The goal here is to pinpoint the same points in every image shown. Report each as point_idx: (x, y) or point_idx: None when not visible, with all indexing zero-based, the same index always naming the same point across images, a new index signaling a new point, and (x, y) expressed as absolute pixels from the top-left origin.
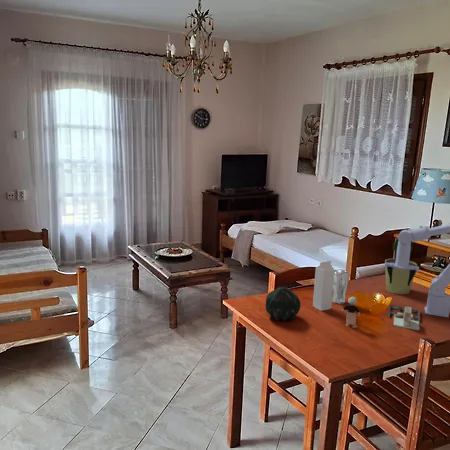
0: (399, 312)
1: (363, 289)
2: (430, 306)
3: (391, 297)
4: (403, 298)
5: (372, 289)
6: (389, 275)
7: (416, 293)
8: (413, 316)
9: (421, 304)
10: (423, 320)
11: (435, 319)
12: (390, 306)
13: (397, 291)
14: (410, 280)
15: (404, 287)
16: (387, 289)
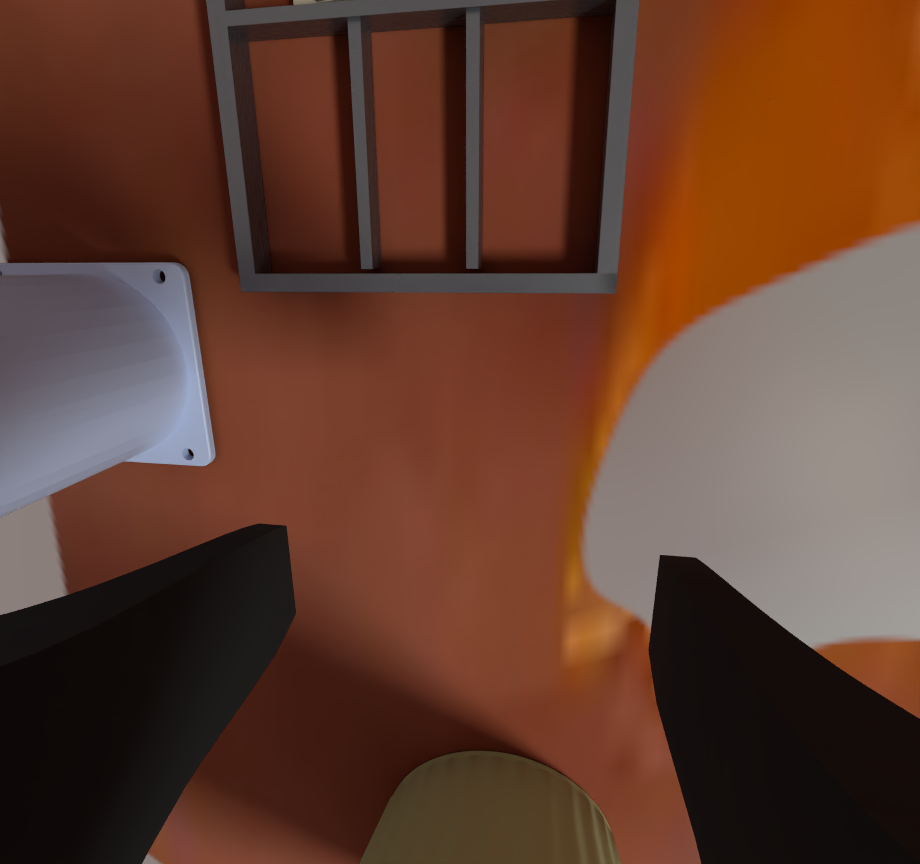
0: (475, 57)
1: None
2: (78, 301)
3: (567, 637)
4: (437, 648)
5: None
6: (878, 704)
7: (324, 804)
8: (289, 10)
9: None
10: (184, 18)
11: (76, 142)
12: (601, 235)
13: (500, 774)
14: (131, 580)
15: (419, 827)
16: (606, 826)
